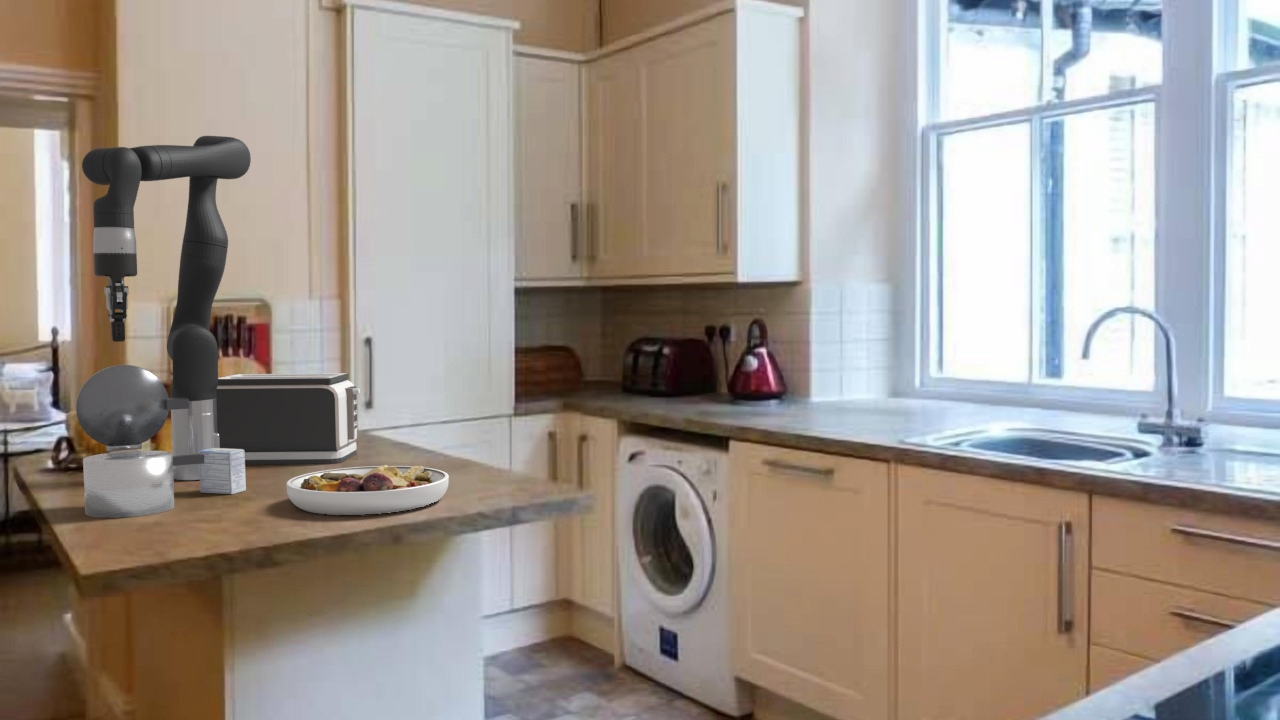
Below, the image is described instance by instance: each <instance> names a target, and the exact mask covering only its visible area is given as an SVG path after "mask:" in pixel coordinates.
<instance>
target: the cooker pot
mask: <svg viewBox="0 0 1280 720" xmlns="http://www.w3.org/2000/svg"><path fill="white" fill-rule="evenodd" d="M82 463H83V464H82V466H83V470H82V471H83V492H84V493H83V494H84V515H85V516H87V517H90V518H99V519H102V518H103V519H121V518H122V519H123V518H135V517H136V518H137V517H143V516H149V515H150V516H151V515H155V514H160V513H165V512H168V511H170V510H172V509H174V508H175V492H174V491H175V490H174V489H175V487H174V485H175V484H174V478H173V466H178V465H190V464H203V463H204V454H193V455H180V456H173V452H172V451H165V450H140V449H134V450H120V451H108V452H105V453H100V454H95V455H89V456H86V457H83V458H82Z"/></svg>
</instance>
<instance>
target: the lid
mask: <svg viewBox="0 0 1280 720" xmlns="http://www.w3.org/2000/svg"><path fill="white" fill-rule="evenodd" d="M75 401H76V402H75V411H76V413H75V414H76V417H77V421H78V423H79V426H80V427H81V428H82V430H83V431H84V433H85V434H86V435H87V436H88V437H90V439H92V440H93V441H95V442H97V443H99V444H101V445H103V446H106V452H116V451H130V450H142V448H143V444H144V443H145V442H147V441H149V440H150V439H152V438H154V436H155V435H157V434H158V433H159V432H160V431H161V429H162V427H164V425H165V423H166V421H167V419H168V416H169V412H170V411H171V410H175V409H189V398H188V397H179V398H171V397H169V394H168V391H167V389H166V388H165V386H164V384H163V382H162V380H160V379H159V377H157V375H155V374H154V373H152V372H151V371H149V370H148V369H146V368H143V367H140V366H137V365H131V364H117V365H112V366H111V365H110V366H108V367H105V368H103V369H100V370H98V371H97V372H95V373H94V374H92V375H91V376H90V377H89V378H88V379H87V380H85V382H84V383H83V384H82V386H81V388H80V389H79V392H78V393H77V397H76V400H75Z"/></svg>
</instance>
